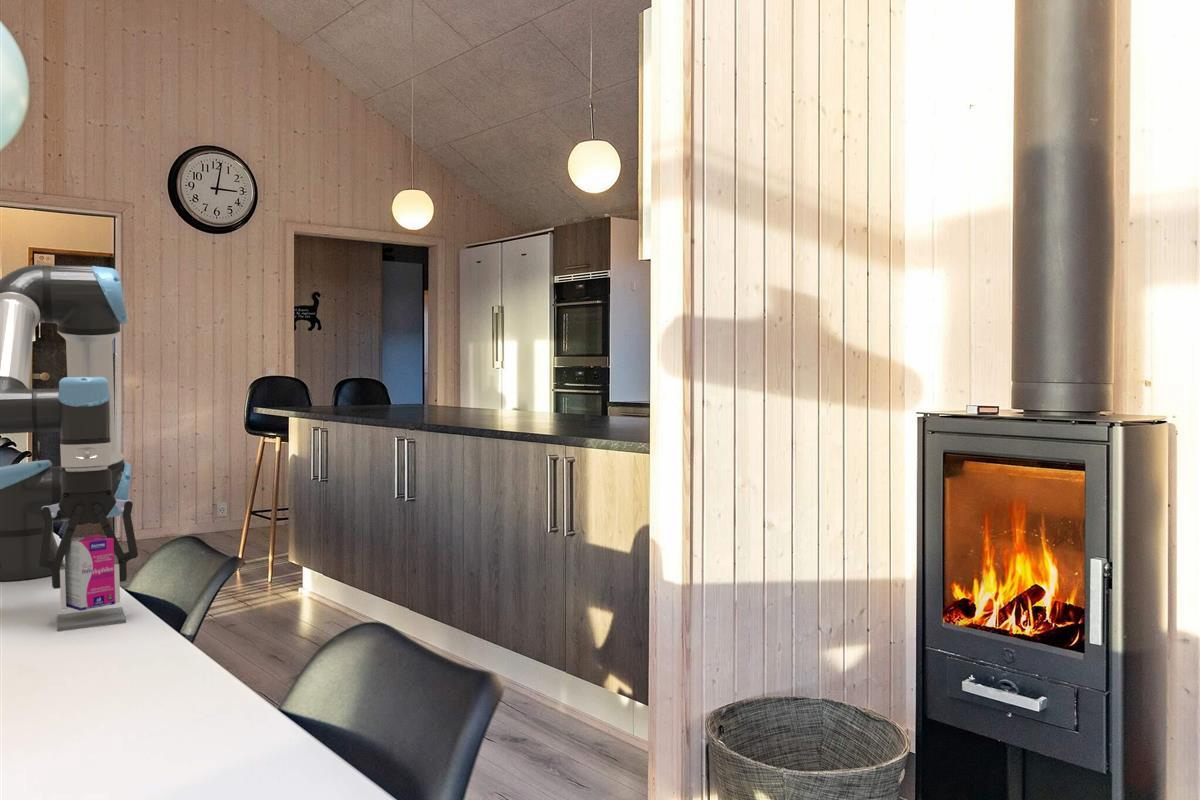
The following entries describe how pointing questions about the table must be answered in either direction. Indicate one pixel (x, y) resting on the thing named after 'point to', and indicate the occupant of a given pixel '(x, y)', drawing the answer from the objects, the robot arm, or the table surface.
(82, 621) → the slate coaster
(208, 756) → the table surface
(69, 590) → the supplement box
